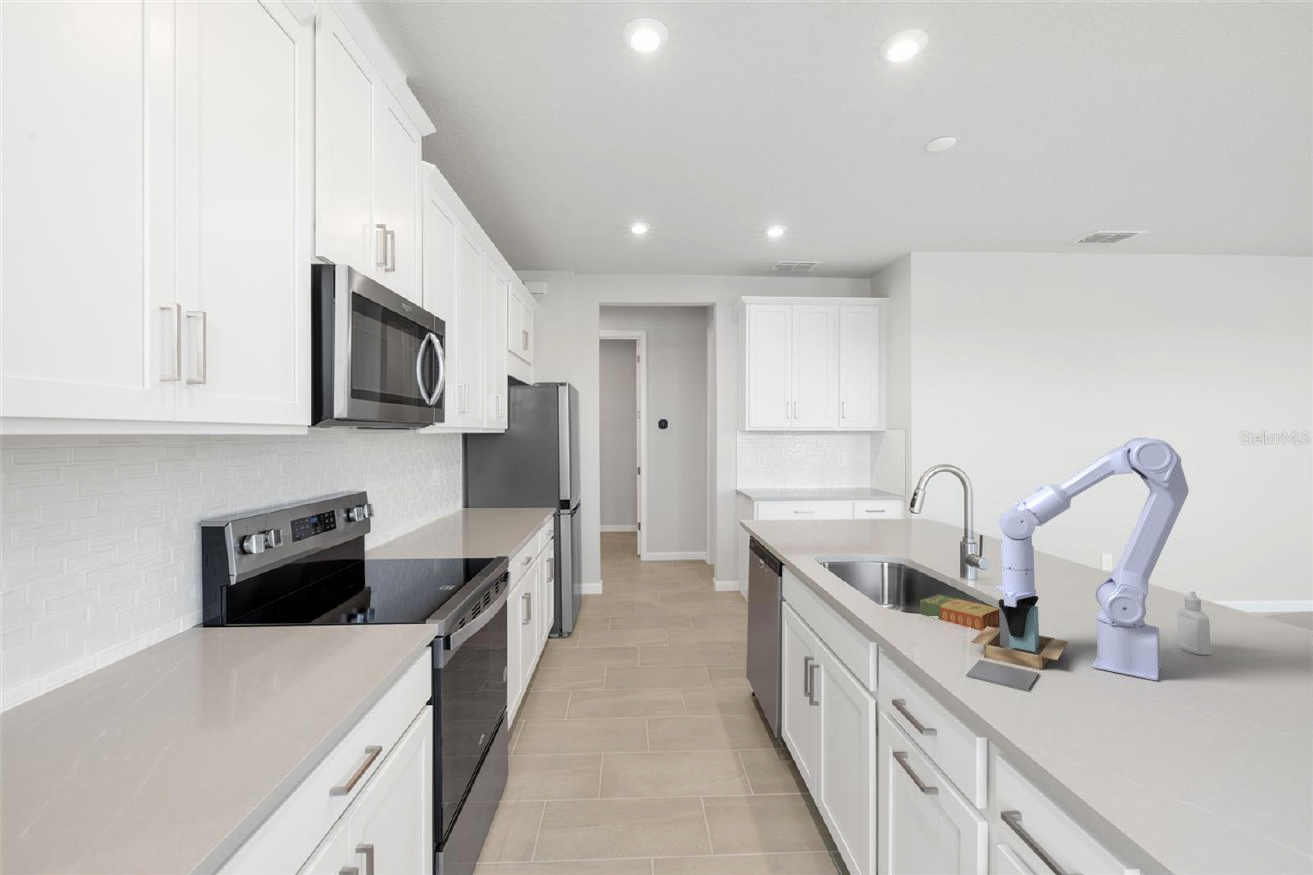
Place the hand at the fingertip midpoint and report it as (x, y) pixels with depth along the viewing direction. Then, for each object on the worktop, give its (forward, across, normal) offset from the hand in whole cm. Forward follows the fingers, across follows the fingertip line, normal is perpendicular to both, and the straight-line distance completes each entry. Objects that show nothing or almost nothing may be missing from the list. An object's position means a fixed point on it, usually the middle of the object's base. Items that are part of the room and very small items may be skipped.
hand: (1019, 633), depth 119 cm
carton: (+5, -16, -16) cm, 23 cm away
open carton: (+4, 0, 0) cm, 4 cm away
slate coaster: (+4, +14, 0) cm, 15 cm away
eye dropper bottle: (+4, -23, +26) cm, 35 cm away
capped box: (+2, 0, 0) cm, 2 cm away
